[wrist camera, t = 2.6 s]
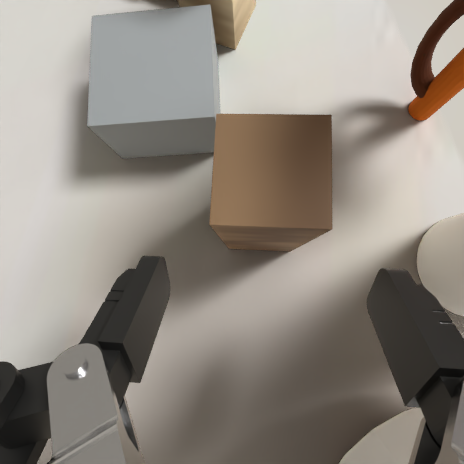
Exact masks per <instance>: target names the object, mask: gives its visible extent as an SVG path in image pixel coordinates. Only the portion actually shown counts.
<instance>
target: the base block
mask: <svg viewBox="0 0 464 464" xmlns="http://www.w3.org/2000/svg"><path fill="white" fill-rule="evenodd" d="M216 114H220V91H219V68H218V56H217V49H216V42H215V34H214V27H213V20H212V13H211V6H210V5H199V6H189V7H179V8H168V9H158V10H148V11H137V12H127V13H117V14H106V15H96V16H92V26H91V50H90V74H89V98H88V122H87V126H88V127H89V128H90V129H91V130H92V131H93V132H94V133H95V134H96V135H97V136H98V137H100V138H101V139H102V140H103V141H104V142H105V143H106V144H107V145H108V146H109V147H110V148H112V149H113V150H114V151H115V152H116V153H117V154H118V155H119V156H120V157H121V158H122V159H125V158H140V157H154V156H168V155H183V154H197V153H211V152H214V143H215V127H216Z"/></svg>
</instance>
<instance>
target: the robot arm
mask: <svg viewBox="0 0 464 464" xmlns="http://www.w3.org/2000/svg"><path fill="white" fill-rule="evenodd" d="M169 296H170V281H169V277H168V272H167V267H166V262H165V259H164V257H159V256H143V257H142V258H141V259H140V261H139V263H138V265H137V267H136V269H128V270H126V271H125V272H124V273H123V274H122V275H121V276H120V277H118V278H117V280H116V282H115V283H114V285H113V287H112V289H111V292H109V294H108V296H107V297H106V299H105V302H103V304H102V306H101V308H100V309H99V311H98V313H97V315H96V316H95V318H94V320H93V321H92V323H91V325H90V327H89V328H88V330H87V332H86V334H85V335H84V337H83V339H82V340H81V342H80V343H79V344H78V345H75V346H73V347H71V348H69V349H67V350H66V351H64V352H63V353H62V354H60V355H59V356H58V357H57V358H56V359H55V361H54V362H50V363H47V364H42V365H38V366H34V367H30V368H26V369H22V370H17V369H16V368H15V367H14V366H13V365H12V364H11V363H8V362H0V464H37V462H38V460H39V457H40V455H41V453H42V451H43V449H44V447H45V445H46V443H47V440H48V439H49V438H51V439H52V458H51V460H50V461H49V462H48V463H47V464H146V462H145V460H144V457H143V454H142V451H141V448H140V445H139V441H138V438H137V435H136V431H135V428H134V425H133V421H132V418H131V414H130V411H129V408H128V404H127V401H126V397H125V393H126V390H127V387H128V385H129V382H135V383H140V382H141V379H142V376H143V373H144V370H145V368H146V365H147V362H148V359H149V356H150V353H151V350H152V347H153V344H154V341H155V338H156V335H157V332H158V329H159V326H160V324H161V321H162V318H163V315H164V312H165V309H166V306H167V303H168V300H169ZM367 309H368V313H369V315H370V318H371V320H372V323H373V325H374V328H375V331H376V333H377V336H378V338H379V341H380V343H381V346H382V348H383V351H384V354H385V356H386V359H387V361H388V364H389V366H390V369H391V371H392V374H393V376H394V379H395V382H396V384H397V387H398V389H399V392H400V394H401V397H402V399H403V402H404V405H405V406H407V407H419V408H421V411H422V413H423V415H424V417H423V418H422V420H421V422H420V425H419V429H418V432H417V436H416V439H415V443H414V446H413V450H412V453H411V457H410V460H409V463H408V464H464V339H463V337H462V336H461V334H460V333H459V331H458V330H457V328H456V327H455V325H453V324H452V321H451V319H450V318H449V316H448V315H447V313H445V312H444V311H445V310H444V309H443V307H442V306H441V304H440V303H439V301H438V300H437V298H436V297H435V296H434V295H433V294H432V293H430V292H429V291H428V290H427V289H426V288H425V287H423V286H422V285H416V283H415V282H414V280H413V279H412V277H411V275H410V274H409V272H408V271H407V270H405V269H388V268H382V269H380V270H379V272H378V274H377V276H376V279H375V281H374V283H373V285H372V288H371V290H370V292H369V295H368V298H367Z"/></svg>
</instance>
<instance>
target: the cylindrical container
mask: <svg viewBox="0 0 464 464" xmlns="http://www.w3.org/2000/svg"><path fill="white" fill-rule="evenodd" d="M417 269H418V274H419V277H420V279H421V282H422V284H423V286H424V287H425V288H426V289H427V290H428V291H429V292H430V293H432V294H433V295H434V296H435V297H436V298H437V300H438V301H439V303H440V304H441V306H442V307H443V308H445V309H447V310H448V311H450V312H452V313H454V314H457V315H460V316H463V317H464V213H463V214H459V215H455V216H452V217H448V218H445V219H443V220H441V221H439V222H437V223H436V224H435V225H433V226H432V227H431V228H430V229H429V230H428V231H427V232H426V234H425V235H424V236H423V238H422V240H421V242H420V244H419V248H418V252H417Z"/></svg>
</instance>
